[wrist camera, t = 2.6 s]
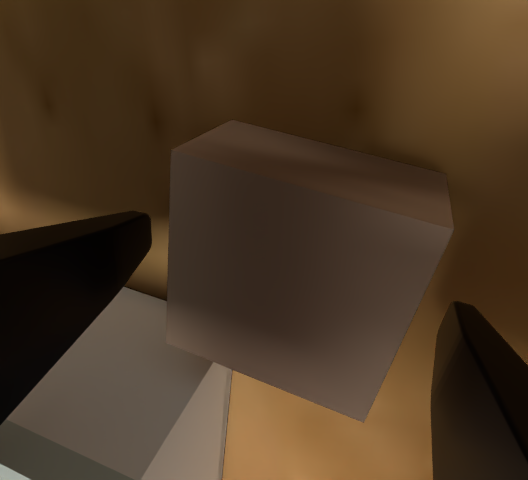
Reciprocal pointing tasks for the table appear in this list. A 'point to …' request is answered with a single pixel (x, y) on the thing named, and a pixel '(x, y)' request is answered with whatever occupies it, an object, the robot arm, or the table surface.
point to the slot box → (121, 406)
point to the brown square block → (299, 259)
